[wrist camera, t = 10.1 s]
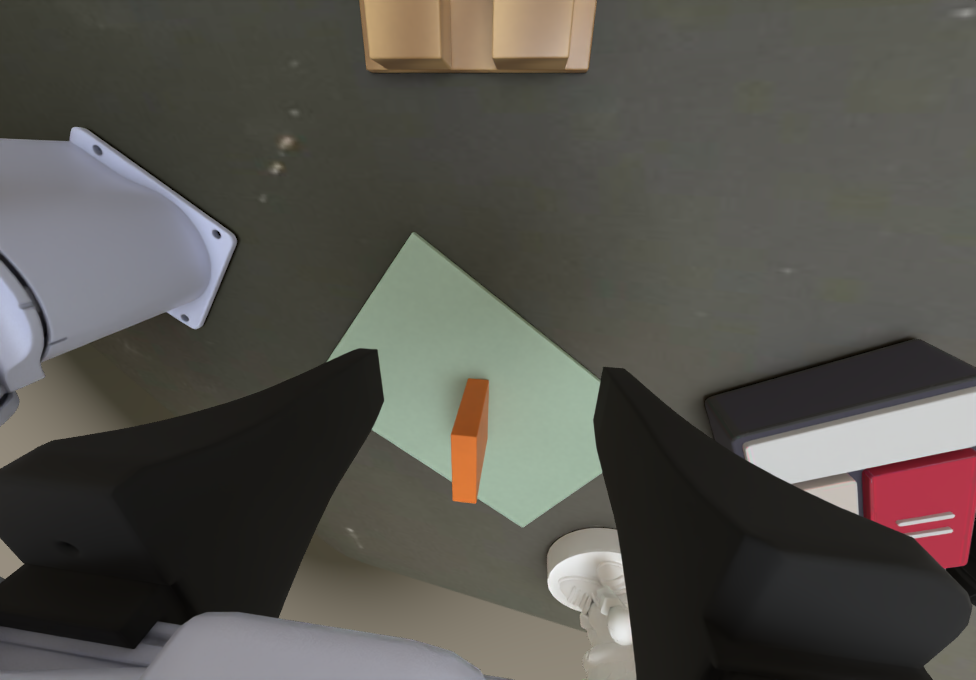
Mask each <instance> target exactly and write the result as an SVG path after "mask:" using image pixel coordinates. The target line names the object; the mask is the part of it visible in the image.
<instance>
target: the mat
mask: <svg viewBox="0 0 976 680" xmlns="http://www.w3.org/2000/svg"><path fill="white" fill-rule="evenodd" d="M358 348H366V349H378V356H379V364H380V372H381V379H382V387H383V394H384V403H383V405H382V408H381V410H380V413H379V415H378V418H377V420H376V422H375V424H374V426H373V428H372V430H373V431H375V432H376V433H378V434H379V435H381V436H382V437H384V438H385V439H387V440H388V441H390V442H391V443H393V444H395V445H396V446H398V447H399V448H401V449H402V450H404V451H405V452H407V453H408V454H410V455H411V456H413V457H415V458H416V459H418V460H419V461H421V462H422V463H424V464H425V465H427V466H428V467H430V468H431V469H433V470H435V471H436V472H438V473H439V474H441V475H442V476H444V477H445V478H447V479H448V480H450V481H451V482H452V463H451V432H452V429H453V425H454V422H455V419H456V416H457V413H458V409H459V406H460V403H461V400H462V397H463V393H464V390H465V387H466V384H467V381H468V379H469V378H471V379H483V380H489V403H488V439H487V444H486V450H485V456H484V462H483V467H482V473H481V479H480V485H479V490H478V496H477V498H478V499H479V500H481V501H482V502H484V503H485V504H487V505H488V506H490V507H491V508H493V509H495V510H496V511H498V512H499V513H501V514H502V515H504V516H505V517H507V518H508V519H510V520H511V521H513V522H515V523H516V524H518V525H519V526H521V527H522V528H523V527H524V526H526V525H527V524H529V523H530V522H531V521H533V520H534V519H536V518H537V517H539V516H540V515H542V514H543V513H545V512H546V511H547V510H549V509H550V508H552V507H553V506H555V505H556V504H558V503H559V502H560V501H562V500H563V499H565V498H566V497H568V496H569V495H571V494H572V493H573V492H575V491H576V490H578V489H579V488H581V487H582V486H584V485H585V484H587V483H588V482H589V481H591V480H592V479H594V478H595V477H597V476H598V475H600V474H601V473H602V469H601V465H600V461H599V457H598V453H597V449H596V441H595V433H594V424H593V418H594V413H595V408H596V402H597V397H598V392H599V387H600V382H601V380H600V379H598V378H597V377H596V376H595V375H593V374H592V373H591V372H590V371H588V370H587V369H586V368H585V367H583V366H582V365H581V364H580V363H578V362H577V361H576V360H575V359H573V358H572V357H571V356H570V355H568V354H567V353H566V352H565V351H563V350H562V349H561V348H560V347H558V346H557V345H556V344H555V343H553V342H552V341H551V340H550V339H548V338H547V337H546V336H545V335H543V334H542V333H541V332H540V331H538V330H537V329H536V328H535V327H533V326H532V325H531V324H530V323H528V322H527V321H526V320H525V319H523V318H522V317H521V316H520V315H518V314H517V313H516V312H515V311H513V310H512V309H511V308H510V307H508V306H507V305H506V304H505V303H503V302H502V301H501V300H500V299H498V298H497V297H496V296H495V295H493V294H492V293H491V292H490V291H488V290H487V289H486V288H485V287H483V286H482V285H481V284H480V283H478V282H477V281H476V280H475V279H473V278H472V277H471V276H469V275H468V274H467V273H466V272H464V271H463V270H462V269H461V268H459V267H458V266H457V265H456V264H454V263H453V262H452V261H451V260H449V259H448V258H447V257H446V256H444V255H443V254H442V253H441V252H439V251H438V250H437V249H436V248H434V247H433V246H432V245H431V244H429V243H428V242H427V241H426V240H424V239H423V238H422V237H421V236H419V235H418V234H417V233H416V232H413V233H412V234H411V235H410V237H409V238H408V240H407V241H406V243H405V244H404V246H403V247H402V249H401V250H400V252H399V253H398V255H397V256H396V258H395V259H394V261H393V262H392V264H391V265H390V267H389V268H388V270H387V271H386V273H385V274H384V276H383V277H382V279H381V280H380V282H379V284H378V285H377V287H376V288H375V290H374V291H373V293H372V294H371V296H370V297H369V299H368V300H367V302H366V303H365V305H364V306H363V308H362V309H361V311H360V312H359V314H358V315H357V317H356V318H355V320H354V321H353V323H352V324H351V326H350V327H349V329H348V330H347V332H346V333H345V335H344V336H343V338H342V339H341V341H340V342H339V344H338V345H337V347H336V348H335V350H334V351H333V353H332V354H331V356H330V357H329V359H328V360H327V362H328V361H330V360H332V359H334V358H337V357H339V356H341V355H343V354H345V353H348V352H350V351H353V350H355V349H358Z"/></svg>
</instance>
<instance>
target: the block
mask: <svg viewBox="0 0 976 680" xmlns="http://www.w3.org/2000/svg"><path fill="white" fill-rule="evenodd" d="M488 403H489V380H483V379H471V378H469V379H468V381H467V384H466V387H465V390H464V393H463V397H462V400H461V403H460V406H459V409H458V413H457V416H456V419H455V422H454V425H453V429H452V432H451V463H452V494H453V501H458V502H467V503H476V502H477V496H478V490H479V485H480V479H481V473H482V467H483V462H484V456H485V450H486V444H487V439H488Z"/></svg>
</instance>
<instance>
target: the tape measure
mask: <svg viewBox="0 0 976 680" xmlns="http://www.w3.org/2000/svg"><path fill="white" fill-rule="evenodd" d="M946 571H947V572H948V573H949V574H950V575H951V576H952V577H953V578H954V579H955V580H956V581H957V582H958V583H959V584H960V585H961V586H962V587H963V588H964V589H965V590H966V591H967V592H968V595H969V598H970V601H971V603H972V604H973V605H975V606H976V520H975V521H974V526H973V532H972V538H971V544H970V551H969V557H968V562H967V564H966V565H964V566H959V567H952V568H946Z"/></svg>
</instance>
